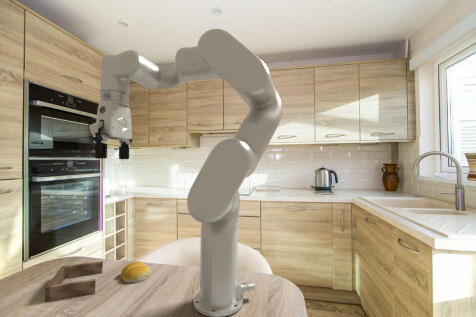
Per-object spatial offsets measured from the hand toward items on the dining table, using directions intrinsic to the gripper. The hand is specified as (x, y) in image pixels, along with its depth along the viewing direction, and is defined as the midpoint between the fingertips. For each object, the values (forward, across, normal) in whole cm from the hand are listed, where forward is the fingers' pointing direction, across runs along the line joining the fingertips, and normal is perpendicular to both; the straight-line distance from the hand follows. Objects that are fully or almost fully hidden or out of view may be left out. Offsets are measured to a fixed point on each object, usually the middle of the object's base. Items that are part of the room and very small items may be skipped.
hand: (113, 158), depth 69 cm
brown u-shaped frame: (+37, -1, +10) cm, 38 cm away
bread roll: (+37, +7, -3) cm, 38 cm away
